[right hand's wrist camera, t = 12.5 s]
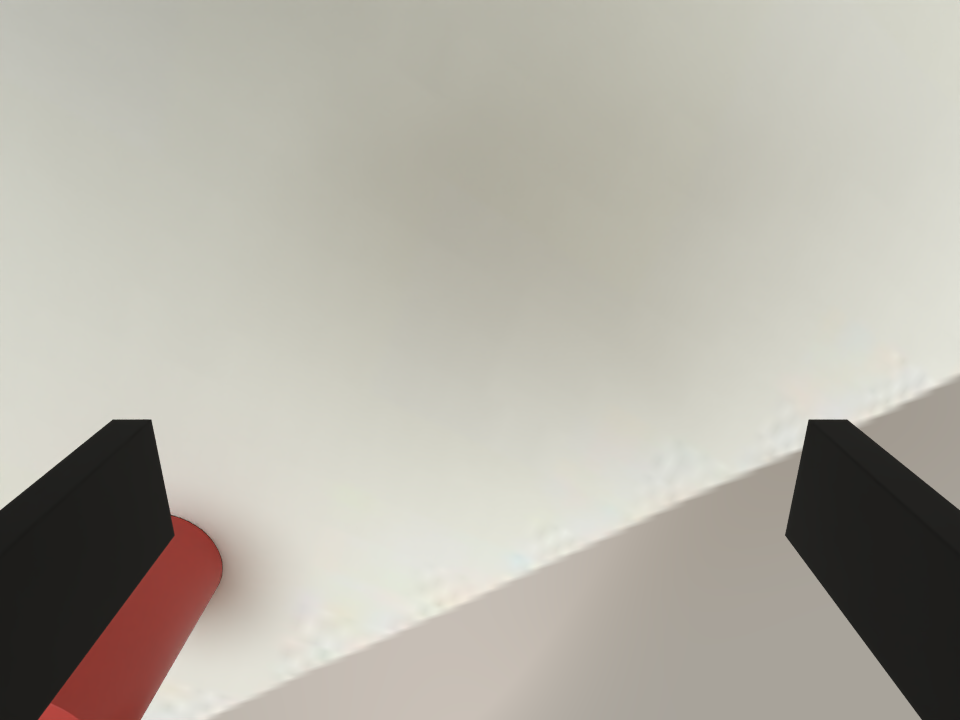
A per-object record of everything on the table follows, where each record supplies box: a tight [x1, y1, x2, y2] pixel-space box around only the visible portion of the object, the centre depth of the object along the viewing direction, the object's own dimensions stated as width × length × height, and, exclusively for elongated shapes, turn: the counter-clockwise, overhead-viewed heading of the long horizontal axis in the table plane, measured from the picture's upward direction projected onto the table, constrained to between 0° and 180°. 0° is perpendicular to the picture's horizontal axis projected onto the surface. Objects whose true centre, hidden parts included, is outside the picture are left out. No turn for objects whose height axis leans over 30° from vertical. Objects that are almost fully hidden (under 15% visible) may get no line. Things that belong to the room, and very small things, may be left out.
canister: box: [38, 516, 222, 720], centre depth 32 cm, size 7×7×13 cm
